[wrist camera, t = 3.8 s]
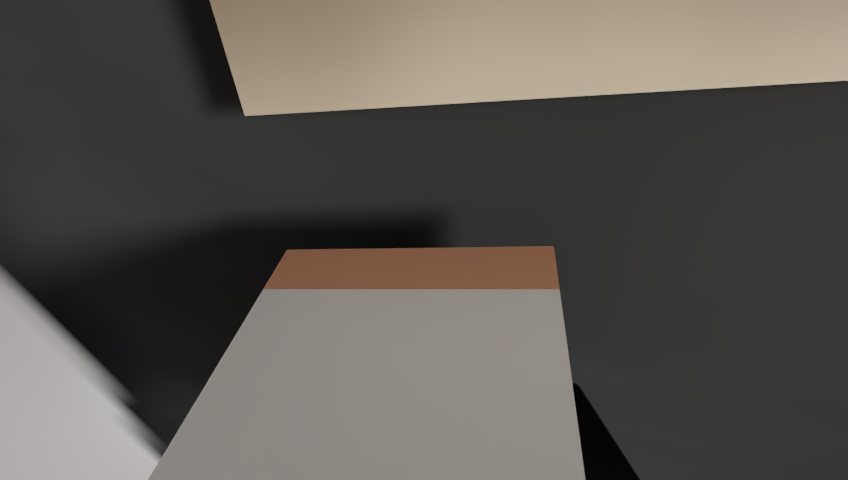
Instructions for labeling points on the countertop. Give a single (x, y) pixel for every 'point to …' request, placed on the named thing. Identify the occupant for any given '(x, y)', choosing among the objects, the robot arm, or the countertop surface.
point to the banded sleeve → (391, 373)
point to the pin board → (518, 49)
